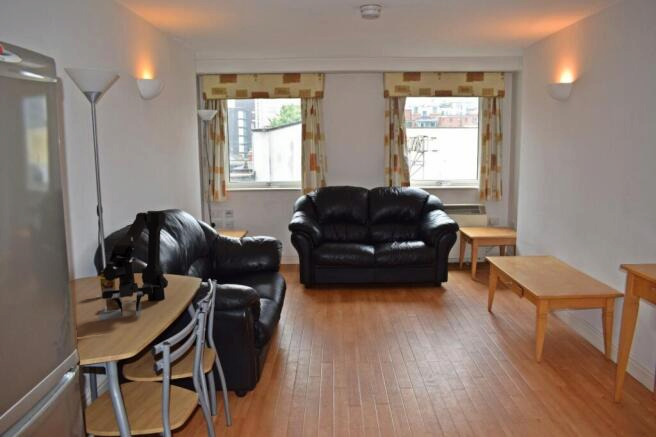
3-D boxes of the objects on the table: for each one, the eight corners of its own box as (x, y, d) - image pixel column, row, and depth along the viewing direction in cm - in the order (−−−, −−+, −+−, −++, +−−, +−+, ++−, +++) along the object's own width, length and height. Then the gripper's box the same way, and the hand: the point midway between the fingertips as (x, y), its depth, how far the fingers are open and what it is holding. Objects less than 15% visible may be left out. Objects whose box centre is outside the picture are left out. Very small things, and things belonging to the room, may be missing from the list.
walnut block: (121, 306, 229) (119, 294, 228) (120, 309, 224) (118, 297, 223) (108, 307, 227) (107, 295, 227) (107, 311, 223) (105, 299, 222)
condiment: (107, 299, 243) (105, 272, 241) (95, 296, 247) (92, 271, 246) (121, 294, 249) (118, 269, 248) (108, 292, 254) (106, 267, 252)
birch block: (137, 311, 221) (136, 299, 220) (136, 314, 216) (135, 302, 216) (124, 312, 220) (122, 300, 219) (123, 316, 215) (121, 304, 214)
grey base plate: (142, 304, 233) (142, 302, 232) (140, 317, 215) (140, 315, 215) (102, 309, 228) (102, 307, 228) (96, 322, 211) (96, 320, 211)
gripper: (98, 281, 205) (102, 321, 208) (150, 276, 210) (153, 315, 213) (102, 274, 216) (106, 312, 218) (151, 270, 221) (154, 307, 223)
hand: (130, 312), depth 218 cm, fingers closed on birch block, 5 cm apart
